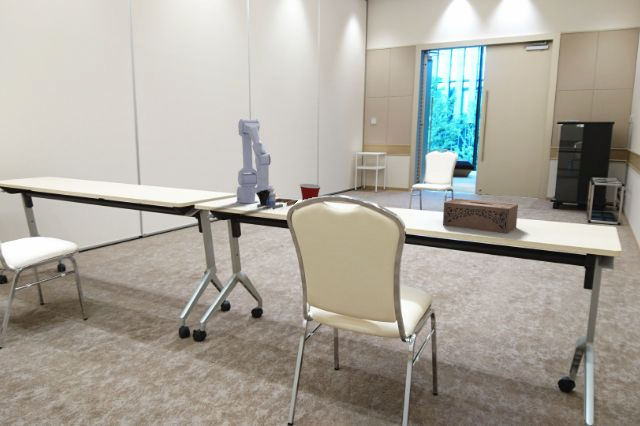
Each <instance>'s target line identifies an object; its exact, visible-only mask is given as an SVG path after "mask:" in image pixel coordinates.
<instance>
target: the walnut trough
mask: <svg viewBox="0 0 640 426" xmlns="http://www.w3.org/2000/svg"><path fill="white" fill-rule="evenodd" d="M298 200H299V199H296V198H295V199H293V198H283V197H279V198H276V204H277V203H279V202H280V203H286V206H292V205H295V204H294V203H296V202H297V201H298Z"/></svg>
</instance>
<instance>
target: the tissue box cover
mask: <svg viewBox="0 0 640 426" xmlns="http://www.w3.org/2000/svg"><path fill="white" fill-rule="evenodd" d="M518 209H519V204H518V203H511V202H510V203H507V202H496V201H488V200H487V201H486V200H474V199H463V198H454V199H450V200H448V201H444V202H443V213H442V214H443V216H442V226H443V225H445V227H454V228H460V229H468V230H475V231H476V230H477V231H483V232H484V231H485V232H491V233H500V234H509V233H510V232H512V231H514V230H515V229H516V228H517V223H518V222H517V220H518Z"/></svg>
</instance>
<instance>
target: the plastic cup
mask: <svg viewBox="0 0 640 426" xmlns="http://www.w3.org/2000/svg"><path fill="white" fill-rule="evenodd" d="M299 187H300V192H301V197H302V201H303V200H304V199H308V198H312V197H319V193H320V190H321V188H322V186H321V185H319V184H314V183H300V184H299Z"/></svg>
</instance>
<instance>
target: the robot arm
mask: <svg viewBox="0 0 640 426" xmlns="http://www.w3.org/2000/svg"><path fill="white" fill-rule="evenodd" d="M237 125H238V128H237V129H238V135H239V136H240V137H241V141H242V142H241V149H242V166H243V167H242V168H241V169H239V170H238V172H237V174H238V175H237V182H238V186H237V188H236V201H235V203H241V204H249V205H250V204H255V203H259V204H261V206H262V207H265V206H266V202H267V198H268V196H269V194H270V191H268V189H271V188H274V186H273V185H270V181H269V180H270V179H269V178H270V176H269V175H270V174H269V172H270V171H269V168H270V167H269V166H270V165H271V162H272V161H271V160H272V159H271V155H270V153H269V152H267V151H266V148H265V145H264V142H262V141H261V139H260V135H259V131H260V128H261V127H260V126H261V125H260V121H259V120H258V119H243V118H241V119H239V121H238V124H237ZM253 153H254V156H255V158H254V163H255V164H254V165H255V168H254V167H253ZM256 195H257V198H258V200H256Z"/></svg>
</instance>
